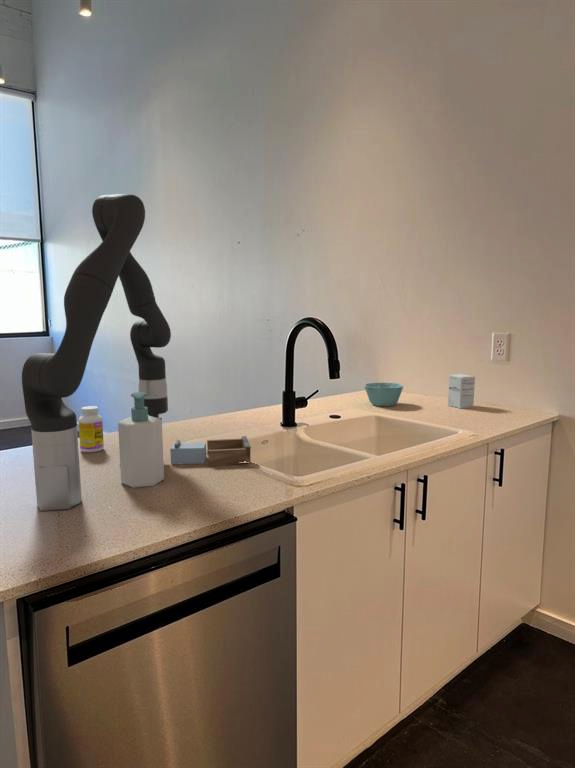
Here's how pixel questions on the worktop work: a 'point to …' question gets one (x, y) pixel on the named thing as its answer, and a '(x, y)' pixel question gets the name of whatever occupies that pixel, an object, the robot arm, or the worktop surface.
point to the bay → (228, 451)
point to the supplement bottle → (91, 430)
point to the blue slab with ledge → (188, 453)
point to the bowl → (383, 393)
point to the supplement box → (461, 391)
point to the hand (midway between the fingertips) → (155, 457)
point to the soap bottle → (141, 446)
